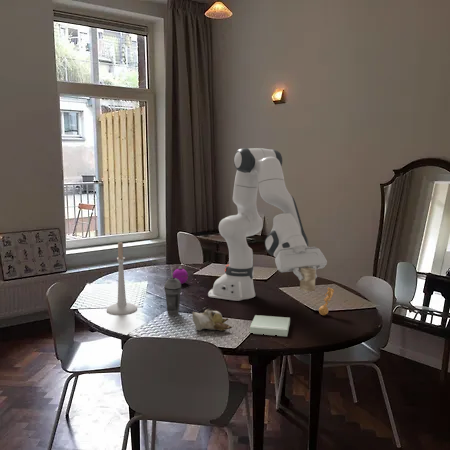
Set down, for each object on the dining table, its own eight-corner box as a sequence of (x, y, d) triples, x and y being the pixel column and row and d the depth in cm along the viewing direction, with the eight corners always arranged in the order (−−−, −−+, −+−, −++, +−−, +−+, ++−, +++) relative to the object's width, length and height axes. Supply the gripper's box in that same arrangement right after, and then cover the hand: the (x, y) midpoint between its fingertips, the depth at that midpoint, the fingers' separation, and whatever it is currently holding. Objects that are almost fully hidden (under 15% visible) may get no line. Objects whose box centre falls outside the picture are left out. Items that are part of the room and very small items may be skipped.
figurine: (316, 311, 208) (317, 284, 206) (330, 311, 208) (331, 284, 206) (320, 318, 200) (321, 290, 198) (335, 318, 200) (336, 290, 198)
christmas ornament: (183, 286, 245) (183, 267, 244) (169, 285, 248) (169, 266, 247) (190, 282, 253) (190, 264, 252) (176, 281, 256) (176, 262, 254)
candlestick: (118, 317, 200) (116, 245, 195) (100, 310, 208) (98, 241, 204) (143, 309, 209) (141, 241, 205) (125, 303, 217) (123, 237, 213)
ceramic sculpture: (191, 303, 190) (228, 304, 192) (190, 324, 191) (227, 325, 193) (193, 312, 179) (233, 313, 182) (192, 335, 180) (232, 335, 183)
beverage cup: (168, 317, 199) (167, 270, 196) (161, 312, 205) (161, 266, 202) (184, 315, 202) (184, 268, 199) (177, 310, 209) (177, 264, 206)
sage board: (249, 333, 182) (249, 326, 182) (255, 321, 196) (255, 314, 196) (287, 336, 180) (287, 329, 179) (289, 323, 193) (290, 317, 193)
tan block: (305, 291, 178) (306, 270, 177) (299, 289, 182) (300, 268, 180) (314, 290, 179) (315, 269, 178) (308, 288, 183) (309, 267, 182)
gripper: (314, 250, 193) (328, 280, 186) (269, 254, 185) (281, 285, 178) (321, 241, 188) (335, 271, 181) (275, 245, 180) (288, 276, 173)
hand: (308, 278), depth 179 cm, fingers closed on tan block, 4 cm apart
